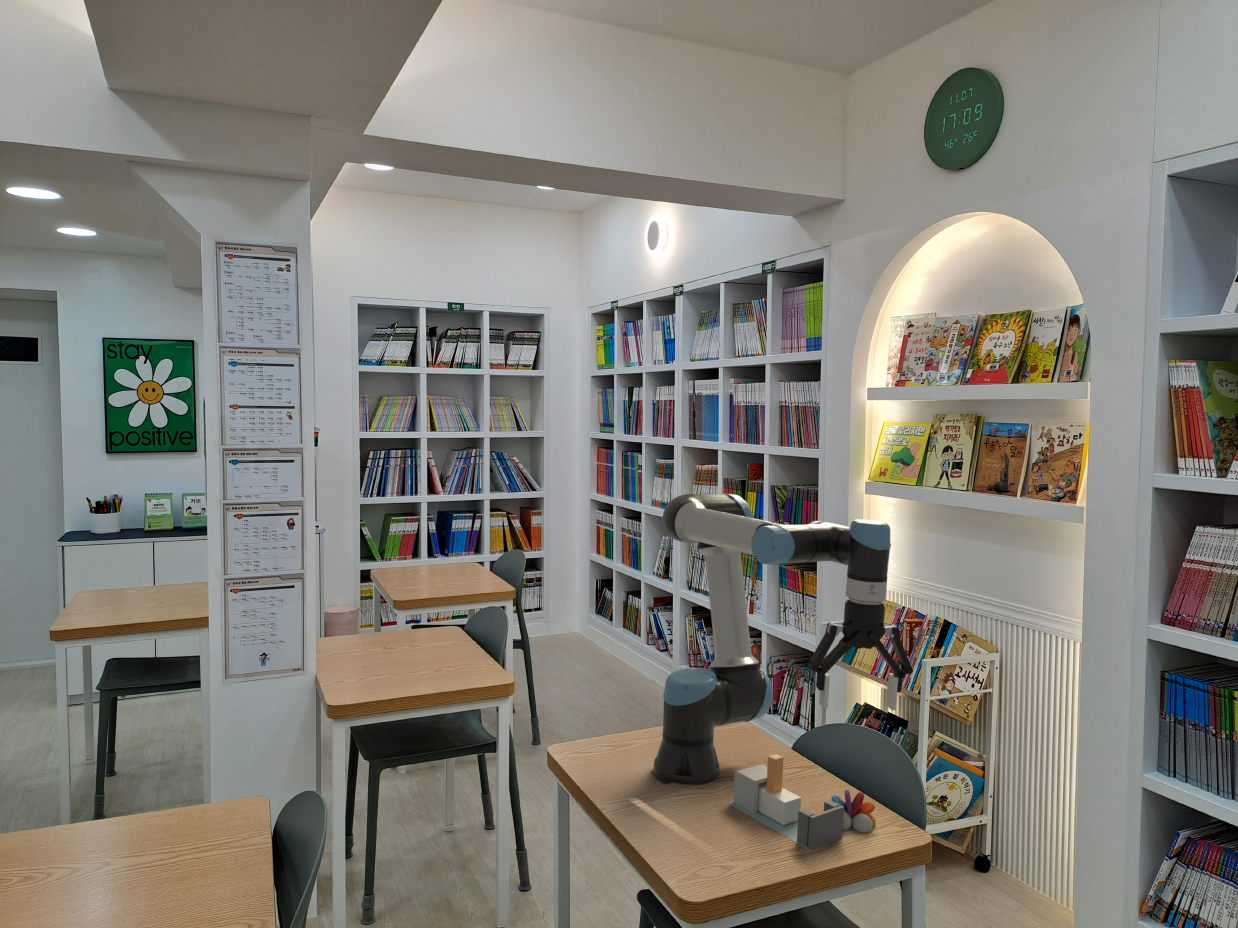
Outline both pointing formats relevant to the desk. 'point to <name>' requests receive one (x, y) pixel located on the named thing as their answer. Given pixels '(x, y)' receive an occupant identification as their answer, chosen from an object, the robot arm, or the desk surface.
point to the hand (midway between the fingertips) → (857, 707)
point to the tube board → (809, 826)
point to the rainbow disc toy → (856, 812)
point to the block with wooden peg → (777, 795)
